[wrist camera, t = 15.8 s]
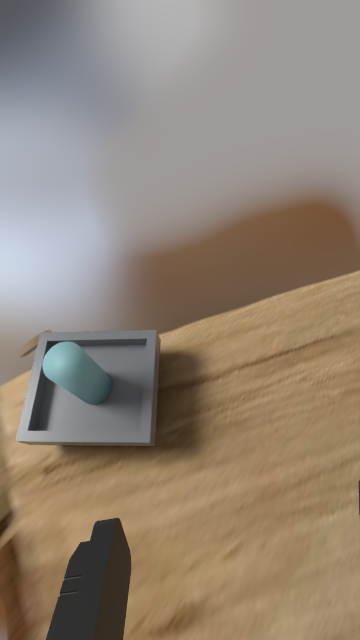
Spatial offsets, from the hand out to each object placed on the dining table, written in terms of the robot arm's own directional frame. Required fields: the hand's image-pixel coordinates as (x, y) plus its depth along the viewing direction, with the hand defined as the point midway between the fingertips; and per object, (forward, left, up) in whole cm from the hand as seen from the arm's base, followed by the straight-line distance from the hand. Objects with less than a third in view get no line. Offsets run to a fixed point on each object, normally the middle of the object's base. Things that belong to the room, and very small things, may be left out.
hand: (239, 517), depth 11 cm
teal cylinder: (+16, -12, -28) cm, 35 cm away
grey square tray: (+16, -12, -33) cm, 39 cm away
